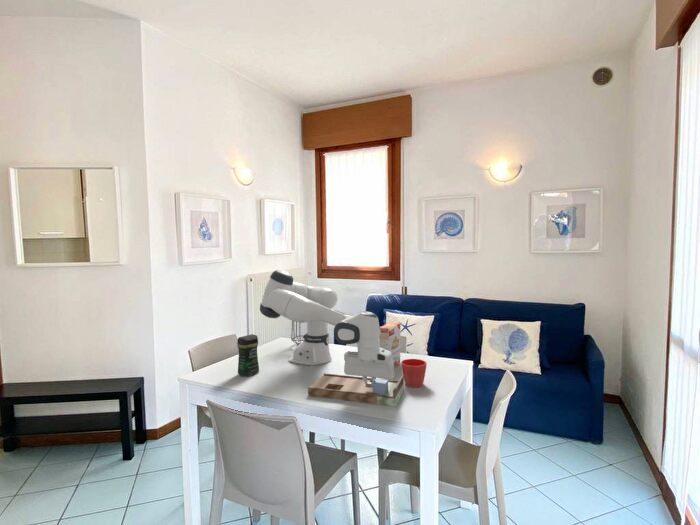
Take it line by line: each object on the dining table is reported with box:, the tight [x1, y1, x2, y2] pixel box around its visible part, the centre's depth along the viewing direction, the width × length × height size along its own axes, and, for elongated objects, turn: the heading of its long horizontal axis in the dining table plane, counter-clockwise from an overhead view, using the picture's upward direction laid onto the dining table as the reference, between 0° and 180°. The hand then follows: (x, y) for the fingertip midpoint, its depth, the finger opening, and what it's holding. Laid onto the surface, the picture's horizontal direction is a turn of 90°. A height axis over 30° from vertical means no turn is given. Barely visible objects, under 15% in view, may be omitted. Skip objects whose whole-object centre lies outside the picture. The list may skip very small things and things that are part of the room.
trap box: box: [307, 373, 405, 407], centre depth 158 cm, size 36×17×6 cm, turn 71°
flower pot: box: [400, 358, 428, 388], centre depth 166 cm, size 11×11×10 cm
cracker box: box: [379, 321, 401, 368], centre depth 190 cm, size 14×6×21 cm, turn 150°
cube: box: [373, 378, 389, 395], centre depth 151 cm, size 5×5×4 cm
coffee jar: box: [236, 334, 260, 377], centre depth 184 cm, size 10×8×19 cm
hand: (369, 387), depth 152 cm, fingers closed
